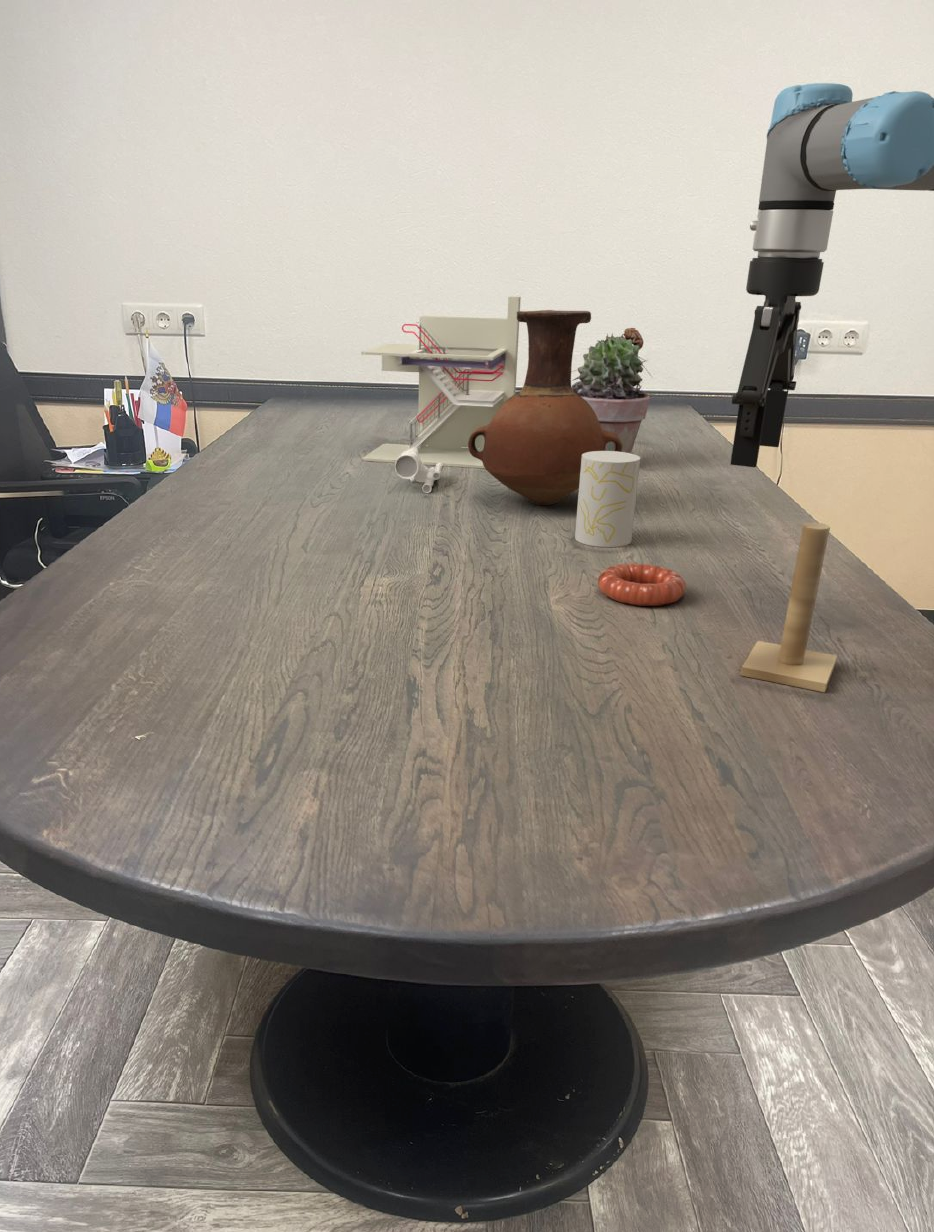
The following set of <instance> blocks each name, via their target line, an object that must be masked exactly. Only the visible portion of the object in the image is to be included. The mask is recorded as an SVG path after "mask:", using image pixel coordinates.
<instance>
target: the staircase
mask: <svg viewBox="0 0 934 1232" xmlns="http://www.w3.org/2000/svg"><path fill="white" fill-rule="evenodd" d="M517 311H521V296H508V299H507V318H503V317H500V318H499V317H474V316H473V317H471V316H437V315H420V316H419V321H416V324H415V323H404V324H403V325H402V326H401V331H402V332H403V333H406V334H407V333H409V334H414V335H415V337H416V338H417V339H418V344H402V343H401V344H400V343H384V344H381V345H378V346H375V347H372V348H369V349H365V350H362V351H361V352H360V354H361V356H362V355H364V356H366V355H367V356H368V355H369V356H381V372H402V373H403V372H404V373H418V407H417V408H418V411H417V412H418V413H417V414H416V415H415V416H414V417H413V418H412V419H411V420H410V421H409V422H408V425H410V426H409V427H410V428H409V430H410V432H409V434H410V435H409V444H399V443H383V444H381V445H379V446H378V447H377V448H375V449H373V450H372V451H371V452H369V453H367V454H366V455H364V456H363V457H362V458H361V461H364V462H376V463H377V462H378V463H391V464H393V463H394V464H395V463H396V461H397V459H398V458H399V456H400V454H401V453H402V452H404V451H407V450H408V449H410V448H412V447H415V448H417V450H418V453H419V457H420V460H421V461H422V462H423V463H424V464H425V465H426V466H436V464H437V463H441V464H442V465H443V467H456V468H470V469H471V468H472V469H485V467H484V466H483V462H482V461H481V460H480V459H477V458H475V457H473V456H472V455H471V454H470V451H469V448H461V447H468V442H469V438H470V436H471V434H472V433H473V432H474V431H475V430H476V429H477V428H480V427H483V426H487V425H488V424H489V423H490V422H491V420H492V418H493V416H494V415H495V413H496V412H497V410H498V409H499V408H500V406H501V405H502V404H503V403H504V402H505V401H506V400H508V399H509V398H510V397H512V396H513V395H514V394H516V392H517V391H516V390H517V389H516V388H517V371H518V353H519V335H520V322H519V321H518V320H517ZM418 324H419V325H418ZM405 326H410V327H417V329H418V334H419V335H418V334H417V333H416V332H415V331H412V330H408V331H407V330H404V327H405ZM413 421H415V422H414V423H412V422H413ZM417 422H418V423H417ZM413 426H414V427H415V428H414V431H415V432H414V438H413ZM416 438H417V439H416ZM415 439H416V441H414V440H415ZM413 441H414V442H413ZM484 442H485V440H484V436H483V435H479V436H477V438H476V439H475V446H476V449H477V450H478V451H479V452H480V451H483V449H484ZM420 445H421V446H420ZM426 445H428V446H426ZM478 448H480V449H478Z"/></svg>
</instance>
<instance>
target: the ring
mask: <svg viewBox="0 0 934 1232" xmlns="http://www.w3.org/2000/svg"><path fill="white" fill-rule="evenodd" d="M597 585H598V587H599V589H600V591H601V593H602V594H603V595H604V596H605V597H608V598H609V599H612V600H614V601H616V602H619V603H622V604H628V605H634V606H639V607H640V606H641V607H642V606H643V607H645V606H646V607H648V606H649V607H652V606H653V607H655V606H656V607H657V606H658V607H659V606H663V605H664V606H665V605H669V604H673V603H676V602H677V601H678V600H680V599H681V598H682V596H683V595H684V594H685V593H686V591H687V583H686V581H685V579H684V578H683V577H682V576H681V575H680V574H679V573H678V572H677V571H674V570H671V569H669V568H667V567H663V566H660V565H653V564H647V563H622V564H618V565H612V566H609V567H607V568H606V569H604V570H603V572H601V573H600V574H599V575H598V578H597Z"/></svg>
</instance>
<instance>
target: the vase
mask: <svg viewBox="0 0 934 1232" xmlns="http://www.w3.org/2000/svg"><path fill="white" fill-rule="evenodd" d="M517 320H518V321H519V323H526V328H527V339H528V340H527V341H528V346H527V347H528V351H527V352H528V353H527V354H528V355H527V356H528V361H527V369H526V374H525V379H524V383H523V386H522V388H521V390H519V391H518V392H515V394H514V395H513V396H512V397H510V398H509V399H508V400H506V401H505V402H504V403H503V404H502V405H501V406H500V408H499V409H498V410H497V412H496V413H495V415H494V416H493V418H492V420H491V422H490V423H489V424H488V425H487V426H483V427H480V428H477V429H476V430H475V431H474V432H473V433H472V434H471V436H470V438H469V442H468V448H469V451H470V454H471V455H472V456H473V457H475V458H477V459H480V460H481V461H482V462H483V466H484V467H485V468H484V470H486V471H487V473H489V474H490V475H491V476H492V477H493V478H495V479H496V480H497V481H498V482H499V483H500V484H502V485H504V486H505V487H506V488H508V489H509V490H510V491H513V492H514V493H516V494H518V495H519V496H521V497H523V498H525V499H526V500H527V501H529V502H531V503H533V504H535V505H539V506H551V505H554V504H557V503H558V502H560V501H561V500H562V499H564V498H567V496H569V495H570V494H572V493H574V492H576V491H579V483H580V471H581V459H582V454H584V453H586V452H592V451H606V448H605V446H606V444H607V443H608V442H611V441H612V442H614V443H615V451H617V452H622V443H621V440H620V438H619V437H618V436H617V435H616V434H614V433H612V432H609V431H606V430H603V429H602V428H601V426H600V423H599V420H598V418H597V416H596V414H595V412H594V410H593V409H592V407H591V406H590V405H589V404H588V403H587V401H586V400H584V399H583V398H582V397H581V396H579V395H578V394H577V393H575V392H574V391H573V389H572V368H573V367H572V365H573V354H574V348H575V342H576V334H577V328H578V326H579V325H581V324H589V323H590V322H591V321H592V313H591V311H589V310H556V309H555V310H554V309H543V310H540V309H539V310H520V311H517ZM479 435H483V436H484V440H485V442H484V449H483V451H480V452H479V451H478V450H477V449H476V446H475V439H476V438H477V436H479Z"/></svg>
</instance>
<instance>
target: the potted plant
mask: <svg viewBox="0 0 934 1232" xmlns="http://www.w3.org/2000/svg"><path fill="white" fill-rule="evenodd" d="M623 332H624V333H622V334H621V335H620V336H616V337H615V336H614V332H612V333H611V336H609V334H608V333H606V336H605V339H601V340H598V339H597V340H596V341H597V342H596V343H595V345H594V346H592V345H590V347H589V348H588V352H587V353H584V354H582V357H583V364H582V365H581V366H579V367H577V369H575V370H571V373H573V372H575V371H577V372H578V373H579V376H577V377H575V378H574V379H571V382H572V381H573V382H574V381H575V382H574V383H573V384H571V387H572V389H573V391H574V392H575V393H577V394H578V395H579V396H581V397H582V398H583V399H584V400H586V401H587V403H588V404H589V405H590V406H591V407H592V409H593V410H594V412H595V414H596V416H597V418H598V420H599V423H600V426H601V428H602V429H603V430H606V431H609V432H612V433H614V434H616V435H617V436H618V437H619V438H620V440H621V443H622V452H626V453H631V454H632V451H633V448H634V446H635V442H636V439H637V435H638V433H639V430H640V427H641V424H642V422H643V420H645V419H646V418H647V412H648V408H649V404H650V399H651V396H649V395H652V396H653V394H651V393H650V394H649V393H645V392H643V390H641V389H642V384H641V383H642V382H643V378H642V376H641V375H640V374H639V373H642V372H643V371H644V369H645V371H647V373H648V374H649V375H650V376H651V378H653V376H652V375H651V373H650V372H649V371H648V369H647V368H646V367H645V365H644V363H645V362H648V359H643V357H640V356H639V351H640V350H641V349H642V348H643V347H644V339H643V336H642V334H641V333H640V332H639V330H638V329H636V328H635V327H630V328H628V327H627V328H624V331H623ZM576 380H579V381H576ZM646 384H649V383H646ZM657 395H658V394H657ZM658 397H659V395H658ZM605 448H606V451H615V443H614V442H612V441H611V442H608V443H607V444H606V446H605Z"/></svg>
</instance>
